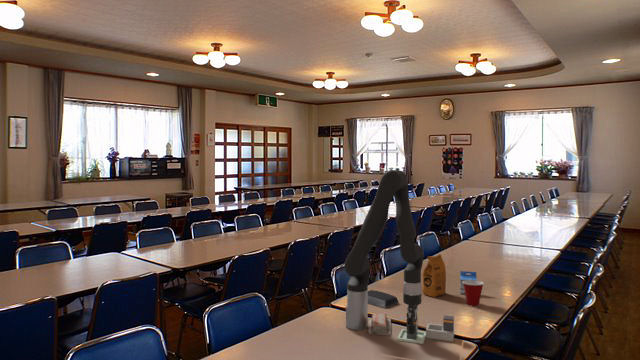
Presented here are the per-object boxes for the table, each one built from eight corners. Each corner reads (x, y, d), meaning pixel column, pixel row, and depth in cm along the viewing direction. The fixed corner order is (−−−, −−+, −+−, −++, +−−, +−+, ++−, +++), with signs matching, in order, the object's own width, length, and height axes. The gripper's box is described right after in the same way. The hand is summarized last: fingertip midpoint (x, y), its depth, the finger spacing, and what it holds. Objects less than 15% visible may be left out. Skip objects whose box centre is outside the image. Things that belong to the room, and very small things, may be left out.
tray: (397, 341, 184) (397, 338, 184) (401, 332, 194) (401, 328, 194) (423, 345, 180) (423, 341, 180) (426, 335, 190) (426, 332, 190)
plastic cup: (480, 301, 235) (481, 279, 235) (486, 308, 224) (486, 284, 224) (459, 300, 236) (460, 278, 236) (464, 307, 225) (464, 284, 225)
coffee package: (419, 293, 249) (419, 255, 247) (434, 290, 256) (434, 252, 255) (433, 298, 240) (433, 258, 239) (448, 294, 248) (448, 255, 246)
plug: (406, 338, 186) (406, 319, 185) (408, 334, 190) (408, 316, 189) (416, 339, 184) (416, 320, 184) (417, 336, 188) (417, 317, 188)
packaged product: (391, 326, 189) (368, 325, 191) (391, 337, 190) (368, 336, 191) (390, 311, 207) (369, 311, 209) (390, 321, 207) (369, 321, 209)
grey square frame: (425, 339, 186) (425, 318, 186) (428, 332, 194) (428, 311, 193) (452, 342, 183) (453, 321, 182) (454, 335, 190) (454, 314, 190)
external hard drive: (384, 309, 224) (384, 301, 224) (355, 300, 239) (355, 293, 238) (399, 303, 233) (399, 296, 233) (371, 295, 247) (371, 288, 247)
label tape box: (460, 294, 247) (460, 272, 247) (459, 292, 251) (460, 270, 251) (476, 295, 245) (476, 273, 244) (476, 293, 249) (476, 271, 248)
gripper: (406, 286, 194) (406, 324, 195) (400, 295, 181) (400, 336, 182) (423, 288, 191) (423, 326, 192) (418, 297, 178) (418, 339, 179)
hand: (412, 331), depth 187 cm, fingers closed on plug, 4 cm apart
